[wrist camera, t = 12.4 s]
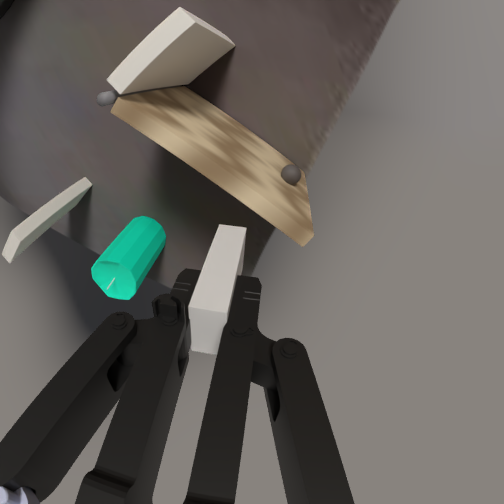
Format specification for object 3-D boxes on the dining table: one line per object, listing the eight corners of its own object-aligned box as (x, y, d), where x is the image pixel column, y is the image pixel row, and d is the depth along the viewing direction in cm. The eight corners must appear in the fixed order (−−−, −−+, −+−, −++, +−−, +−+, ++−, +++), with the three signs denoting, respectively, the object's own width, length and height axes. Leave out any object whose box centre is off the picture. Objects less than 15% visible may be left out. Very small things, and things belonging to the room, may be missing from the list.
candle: (124, 215, 40) (78, 264, 29) (163, 216, 39) (123, 269, 29) (131, 252, 43) (93, 305, 33) (168, 254, 42) (136, 312, 32)
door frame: (69, 197, 39) (1, 254, 26) (226, 35, 26) (179, 6, 13) (76, 205, 39) (9, 263, 26) (235, 45, 27) (195, 22, 14)
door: (178, 94, 30) (110, 112, 18) (192, 74, 29) (129, 77, 16) (297, 179, 34) (302, 247, 22) (313, 162, 33) (329, 220, 21)
